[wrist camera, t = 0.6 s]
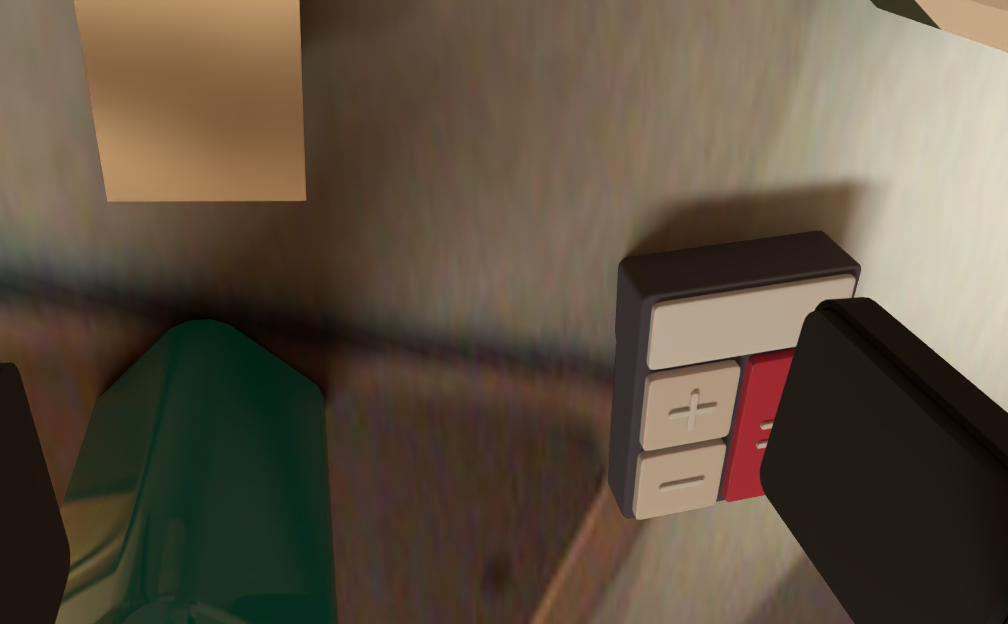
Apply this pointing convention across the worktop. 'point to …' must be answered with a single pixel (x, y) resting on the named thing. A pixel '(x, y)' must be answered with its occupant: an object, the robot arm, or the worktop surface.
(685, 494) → the calculator
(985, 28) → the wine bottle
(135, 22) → the wooden block
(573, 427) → the worktop surface
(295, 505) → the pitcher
